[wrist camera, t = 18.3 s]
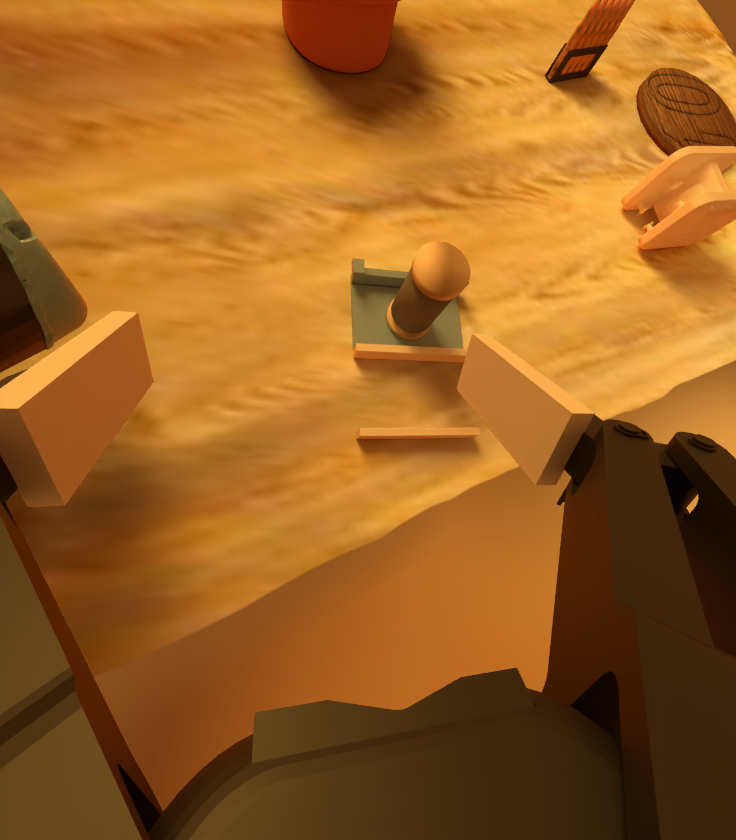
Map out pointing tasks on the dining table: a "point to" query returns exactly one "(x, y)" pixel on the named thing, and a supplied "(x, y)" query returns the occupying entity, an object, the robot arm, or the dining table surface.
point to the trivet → (683, 112)
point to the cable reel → (427, 289)
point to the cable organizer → (685, 197)
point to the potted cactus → (340, 31)
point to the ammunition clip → (588, 40)
